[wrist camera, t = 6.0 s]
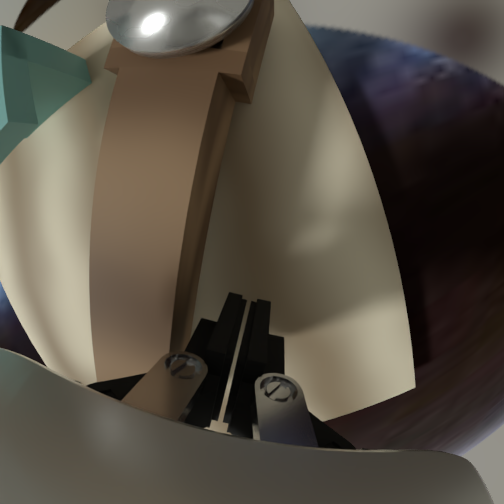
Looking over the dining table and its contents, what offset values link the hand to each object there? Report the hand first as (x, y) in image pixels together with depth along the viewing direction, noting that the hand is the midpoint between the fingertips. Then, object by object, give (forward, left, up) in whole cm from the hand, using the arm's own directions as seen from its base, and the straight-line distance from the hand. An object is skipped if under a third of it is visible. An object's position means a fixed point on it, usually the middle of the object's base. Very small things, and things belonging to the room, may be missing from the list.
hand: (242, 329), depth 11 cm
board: (+4, -4, -3) cm, 6 cm away
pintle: (-3, -11, -1) cm, 11 cm away
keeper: (+5, -12, -1) cm, 13 cm away
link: (+1, -5, -1) cm, 5 cm away
